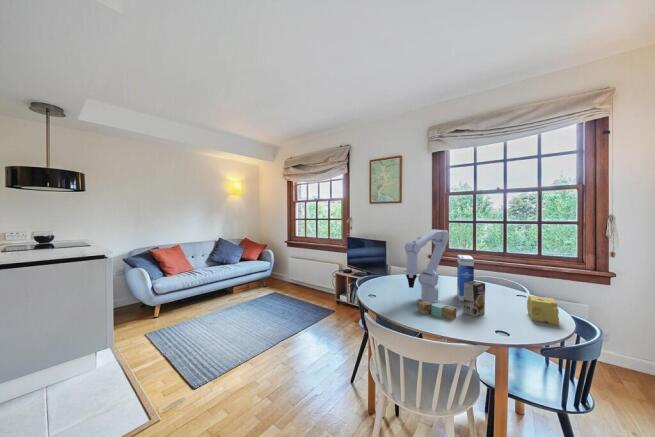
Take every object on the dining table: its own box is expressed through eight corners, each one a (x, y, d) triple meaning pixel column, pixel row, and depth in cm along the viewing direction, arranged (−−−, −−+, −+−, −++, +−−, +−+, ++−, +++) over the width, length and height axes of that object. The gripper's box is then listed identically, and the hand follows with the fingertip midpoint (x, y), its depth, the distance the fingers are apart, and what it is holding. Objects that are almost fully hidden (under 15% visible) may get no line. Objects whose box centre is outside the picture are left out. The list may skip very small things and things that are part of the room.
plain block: (435, 312, 131) (435, 302, 131) (445, 314, 127) (445, 305, 127) (431, 314, 128) (431, 305, 127) (441, 317, 124) (441, 308, 124)
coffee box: (474, 317, 125) (475, 285, 124) (462, 312, 130) (463, 282, 130) (485, 313, 129) (486, 283, 128) (473, 309, 135) (473, 280, 134)
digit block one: (426, 310, 134) (426, 300, 133) (432, 313, 129) (432, 304, 129) (417, 310, 132) (418, 301, 132) (423, 314, 128) (423, 304, 127)
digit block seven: (446, 314, 128) (446, 304, 128) (456, 317, 125) (456, 307, 124) (442, 317, 125) (442, 307, 125) (452, 320, 121) (452, 309, 121)
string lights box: (473, 303, 144) (474, 259, 143) (458, 301, 146) (459, 258, 145) (469, 295, 156) (470, 255, 155) (456, 294, 159) (457, 254, 158)
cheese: (559, 325, 116) (559, 304, 115) (529, 320, 121) (530, 300, 121) (553, 317, 124) (554, 298, 124) (526, 312, 130) (527, 294, 130)
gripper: (405, 260, 147) (404, 283, 147) (403, 265, 134) (402, 290, 134) (418, 261, 144) (417, 284, 145) (417, 266, 131) (416, 291, 131)
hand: (411, 287), depth 139 cm, fingers closed
